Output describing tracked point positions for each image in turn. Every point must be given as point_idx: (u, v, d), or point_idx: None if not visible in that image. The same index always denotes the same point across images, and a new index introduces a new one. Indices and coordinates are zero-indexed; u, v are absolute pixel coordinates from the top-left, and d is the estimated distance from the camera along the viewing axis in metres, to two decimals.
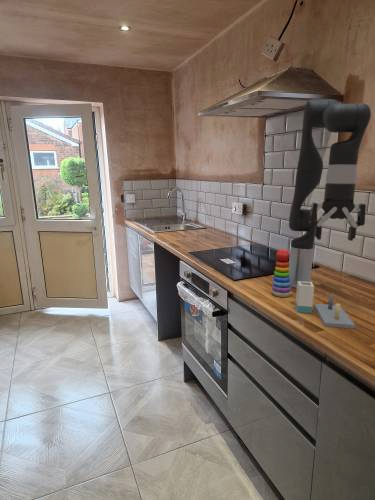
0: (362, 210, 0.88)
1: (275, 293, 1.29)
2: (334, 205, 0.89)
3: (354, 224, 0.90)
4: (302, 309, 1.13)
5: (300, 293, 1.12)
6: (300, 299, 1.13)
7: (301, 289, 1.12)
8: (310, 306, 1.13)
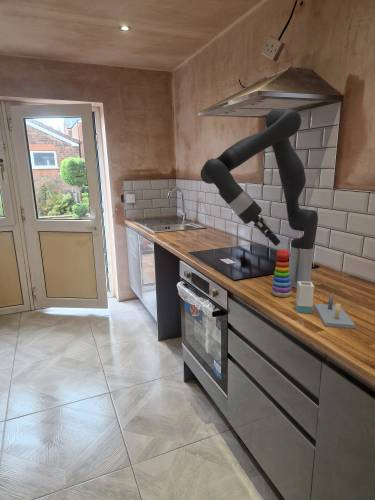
0: (258, 228, 1.05)
1: (275, 293, 1.29)
2: None
3: None
4: (302, 309, 1.13)
5: (300, 293, 1.12)
6: (300, 299, 1.13)
7: (301, 289, 1.12)
8: (310, 306, 1.13)
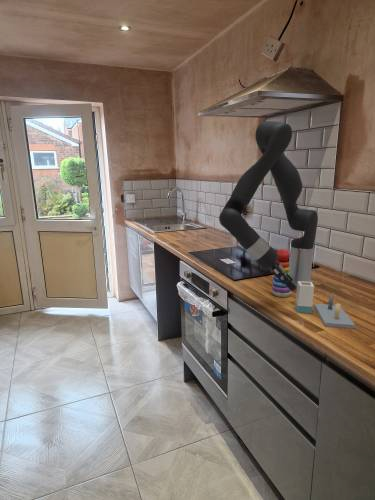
0: (275, 275, 1.09)
1: (275, 293, 1.29)
2: None
3: (282, 281, 1.10)
4: (302, 309, 1.13)
5: (300, 293, 1.12)
6: (300, 299, 1.13)
7: (301, 289, 1.12)
8: (310, 306, 1.13)
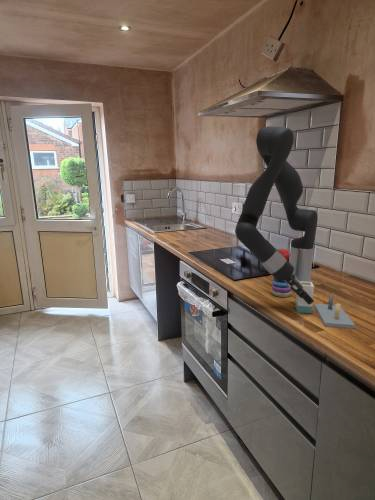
0: (293, 290, 1.09)
1: (275, 293, 1.29)
2: None
3: None
4: (302, 309, 1.13)
5: (300, 293, 1.12)
6: (300, 299, 1.13)
7: None
8: (310, 306, 1.13)
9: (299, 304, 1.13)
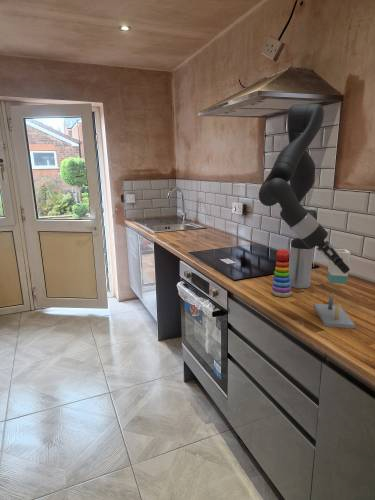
0: (327, 256, 0.97)
1: (275, 293, 1.29)
2: (318, 246, 1.04)
3: None
4: (336, 278, 1.02)
5: None
6: (334, 267, 1.01)
7: None
8: (345, 275, 1.01)
9: (333, 273, 1.01)
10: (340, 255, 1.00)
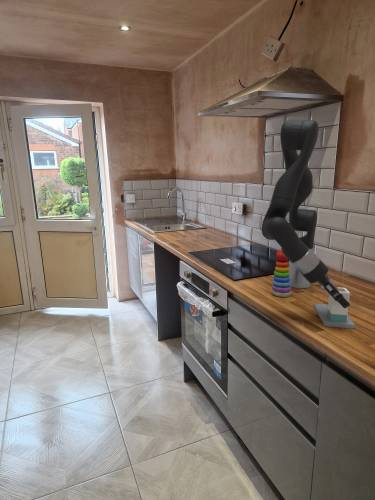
0: (327, 291, 0.99)
1: (275, 293, 1.29)
2: None
3: None
4: (336, 317, 1.04)
5: (334, 300, 1.03)
6: (334, 307, 1.03)
7: (335, 296, 1.03)
8: (345, 314, 1.03)
9: (333, 312, 1.04)
10: None
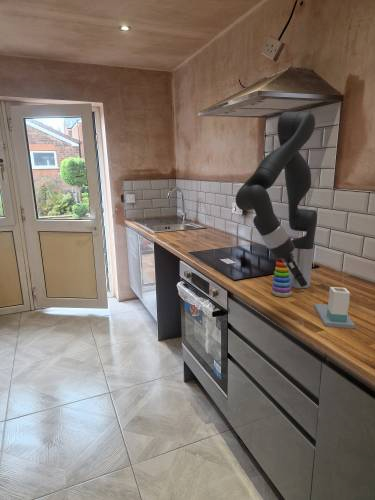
0: (289, 268, 1.00)
1: (275, 293, 1.29)
2: None
3: None
4: (336, 317, 1.04)
5: (334, 300, 1.03)
6: (334, 307, 1.03)
7: (335, 296, 1.03)
8: (345, 314, 1.03)
9: (333, 312, 1.04)
10: (340, 295, 1.02)
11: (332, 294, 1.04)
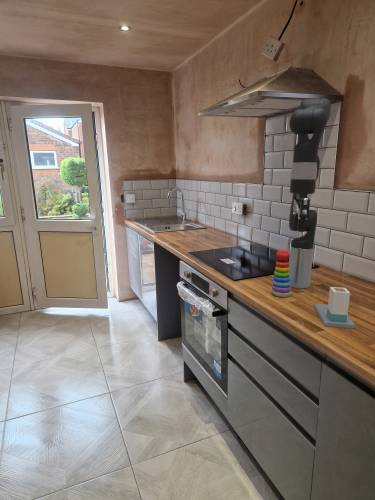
0: (300, 204, 0.96)
1: (275, 293, 1.29)
2: (297, 198, 1.03)
3: (298, 216, 0.99)
4: (336, 317, 1.04)
5: (334, 300, 1.03)
6: (334, 307, 1.03)
7: (335, 296, 1.03)
8: (345, 314, 1.03)
9: (333, 312, 1.04)
10: (340, 295, 1.02)
11: (332, 294, 1.04)
